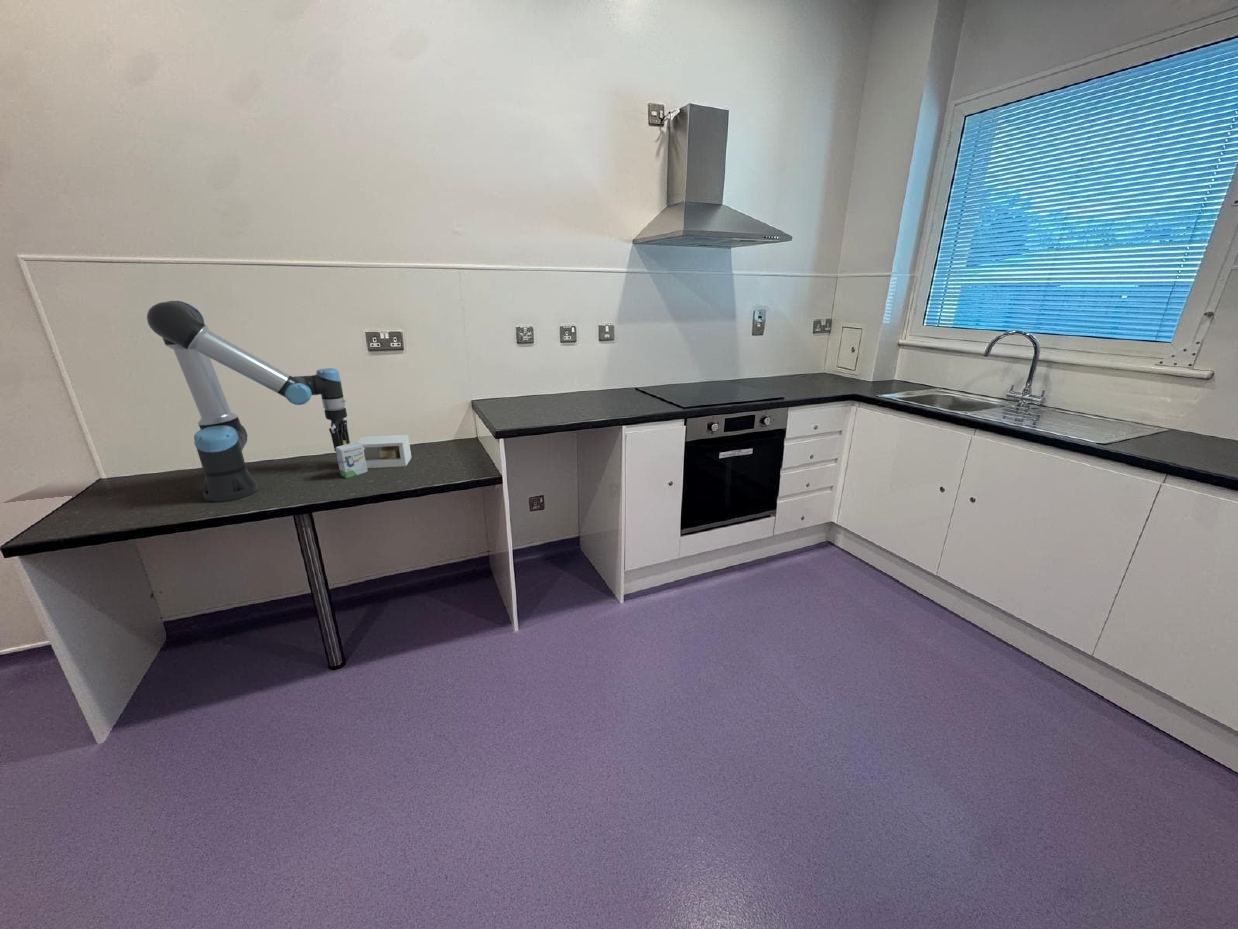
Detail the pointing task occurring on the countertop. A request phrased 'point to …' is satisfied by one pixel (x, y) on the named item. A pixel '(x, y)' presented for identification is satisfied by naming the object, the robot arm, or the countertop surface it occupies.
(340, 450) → the ink box
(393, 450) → the corded block
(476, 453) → the countertop surface
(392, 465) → the box
